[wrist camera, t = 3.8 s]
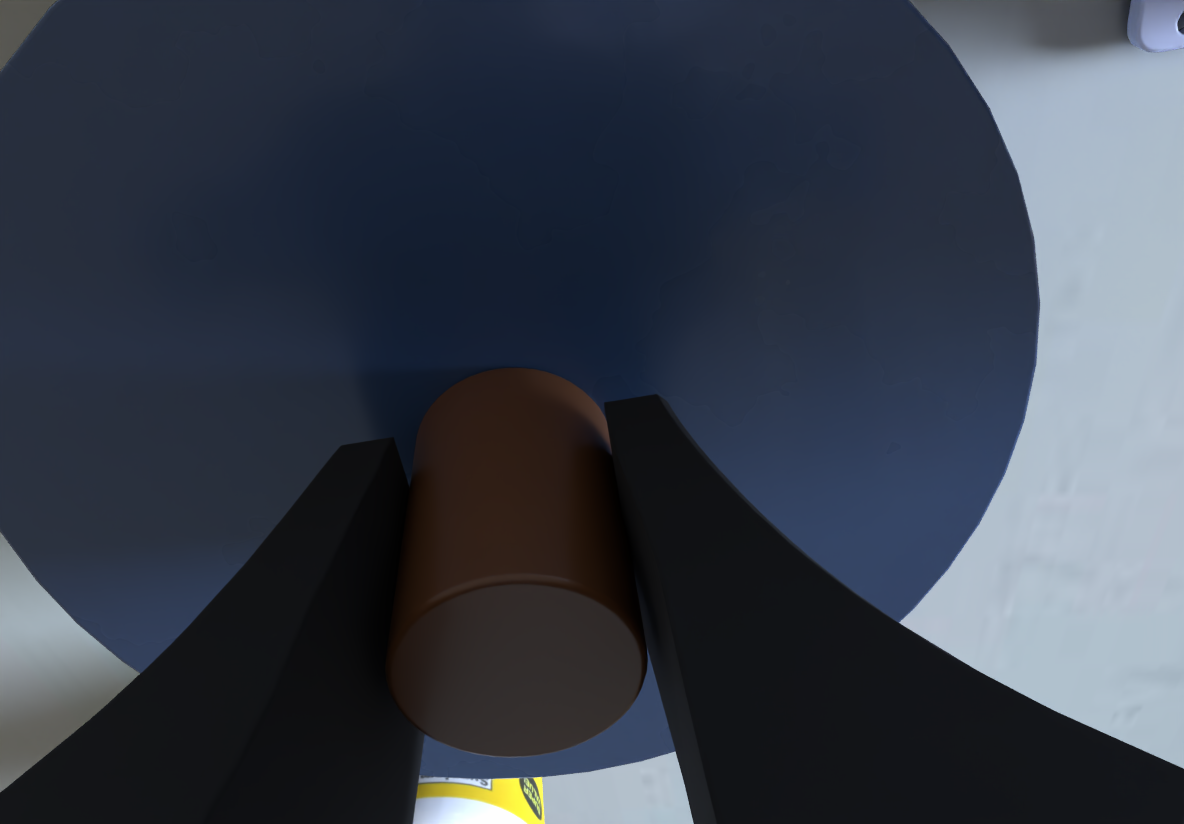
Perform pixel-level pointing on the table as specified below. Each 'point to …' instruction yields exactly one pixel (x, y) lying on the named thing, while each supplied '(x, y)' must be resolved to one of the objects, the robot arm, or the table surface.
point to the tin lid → (498, 315)
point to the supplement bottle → (479, 801)
